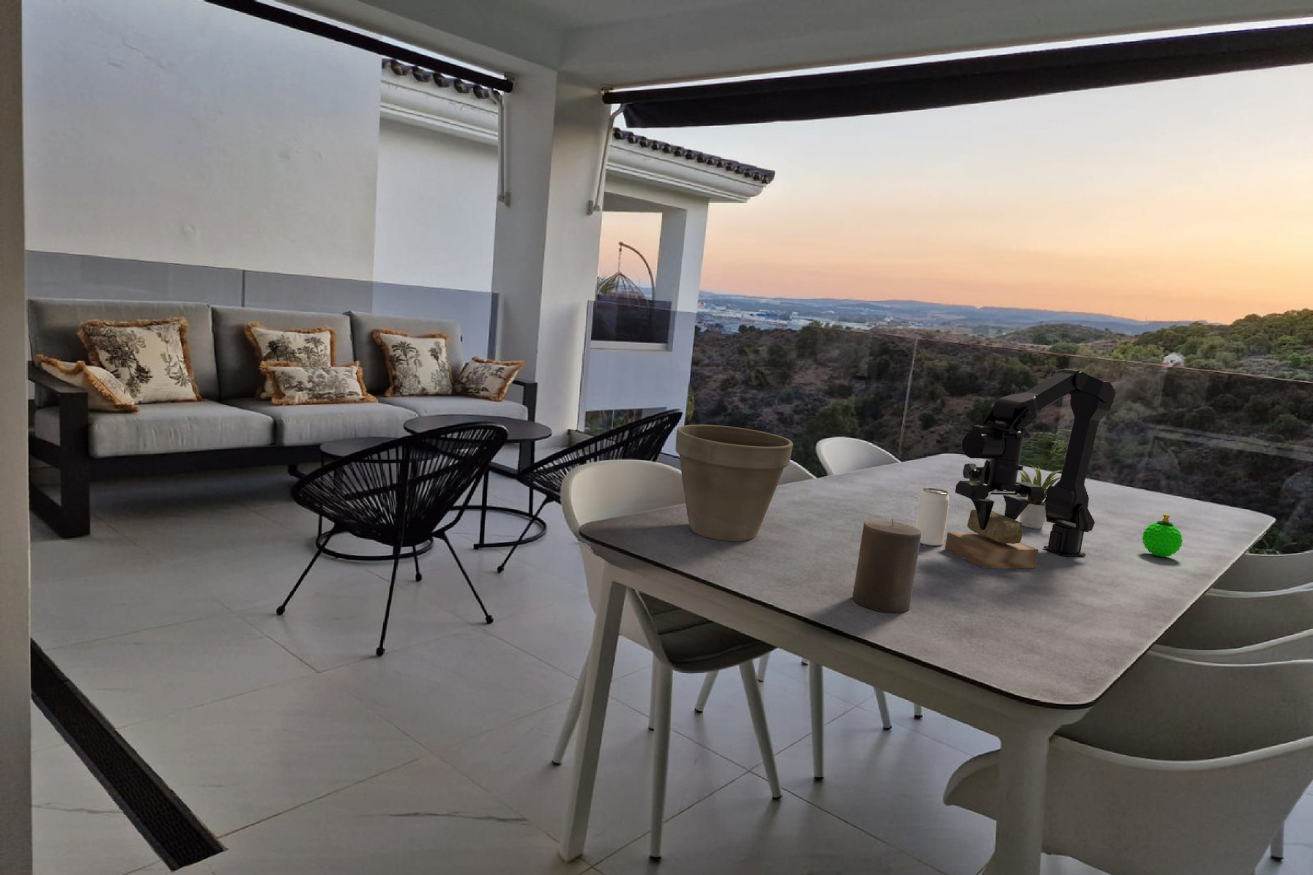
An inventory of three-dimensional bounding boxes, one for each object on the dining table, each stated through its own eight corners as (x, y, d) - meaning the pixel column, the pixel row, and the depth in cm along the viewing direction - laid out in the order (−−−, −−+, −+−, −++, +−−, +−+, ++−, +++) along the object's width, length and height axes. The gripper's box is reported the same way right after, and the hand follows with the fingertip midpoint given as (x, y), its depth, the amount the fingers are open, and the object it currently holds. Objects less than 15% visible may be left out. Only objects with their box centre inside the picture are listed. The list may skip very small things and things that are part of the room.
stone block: (1000, 545, 173) (1004, 522, 172) (963, 529, 184) (967, 507, 183) (1023, 545, 175) (1026, 522, 174) (985, 529, 186) (988, 507, 185)
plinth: (993, 549, 188) (996, 532, 187) (1035, 567, 176) (1038, 549, 175) (944, 549, 184) (947, 531, 183) (984, 568, 172) (987, 549, 171)
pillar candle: (876, 615, 138) (889, 527, 136) (841, 594, 147) (853, 511, 144) (922, 612, 142) (936, 526, 140) (885, 592, 151) (897, 511, 148)
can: (944, 547, 185) (952, 495, 183) (914, 543, 186) (922, 491, 185) (940, 540, 192) (948, 489, 190) (911, 536, 193) (919, 485, 191)
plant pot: (805, 543, 178) (818, 443, 175) (715, 554, 164) (726, 446, 161) (731, 514, 198) (741, 424, 195) (645, 521, 184) (654, 424, 181)
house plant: (1070, 527, 218) (1080, 466, 215) (1063, 537, 206) (1074, 472, 203) (1012, 516, 225) (1021, 456, 222) (1002, 525, 213) (1012, 462, 211)
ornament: (1141, 548, 202) (1148, 508, 200) (1180, 557, 197) (1188, 516, 196) (1137, 555, 195) (1145, 513, 194) (1177, 563, 190) (1186, 521, 189)
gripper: (1014, 452, 187) (1003, 519, 189) (944, 449, 181) (934, 519, 184) (1051, 462, 177) (1039, 533, 179) (978, 459, 171) (966, 533, 173)
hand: (994, 529), depth 179 cm, fingers closed on stone block, 6 cm apart
